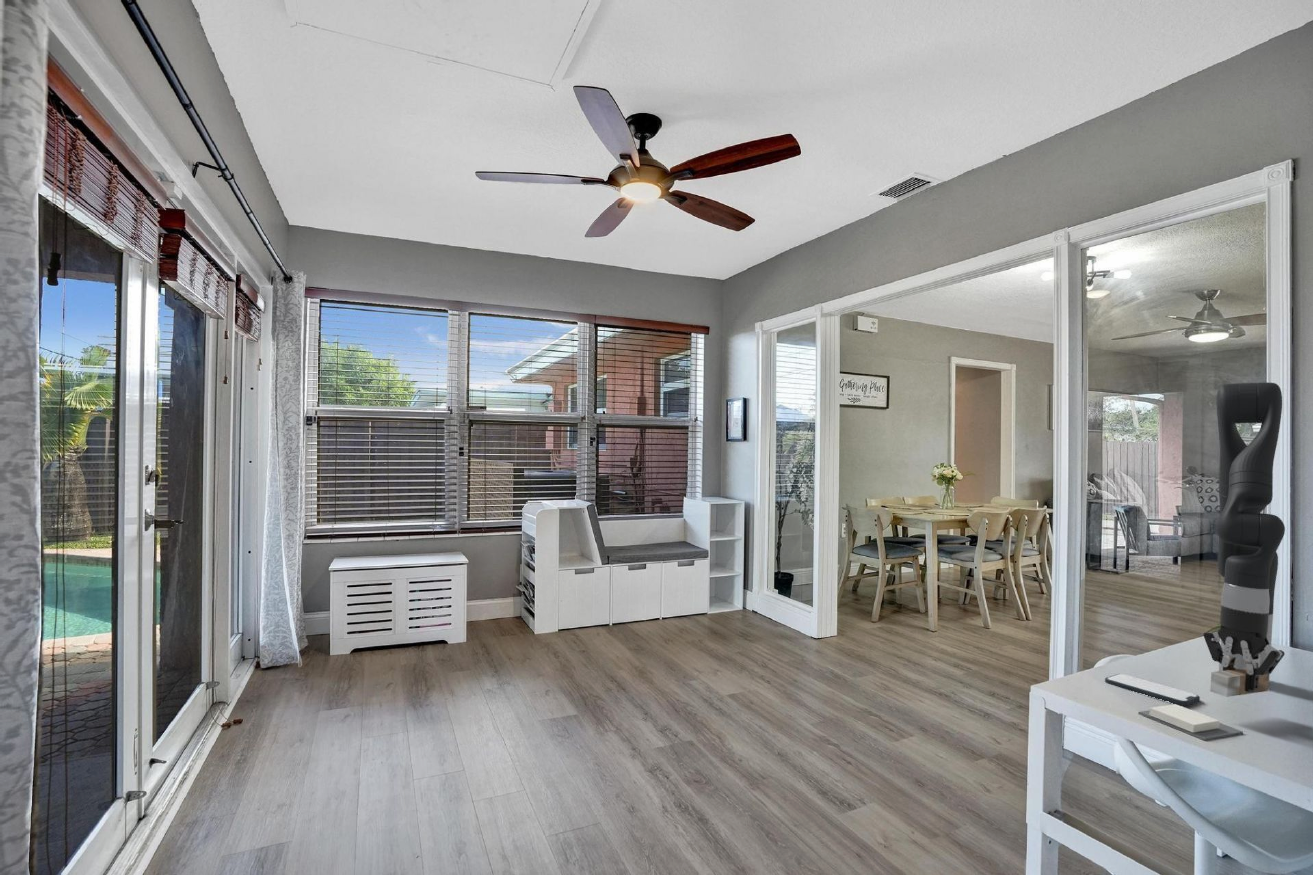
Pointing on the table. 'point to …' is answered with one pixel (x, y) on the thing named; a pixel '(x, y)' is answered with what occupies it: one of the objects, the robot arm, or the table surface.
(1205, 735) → the mat
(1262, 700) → the table surface
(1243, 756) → the table surface
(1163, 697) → the phone case
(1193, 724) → the tile
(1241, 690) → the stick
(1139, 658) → the table surface
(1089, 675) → the table surface
